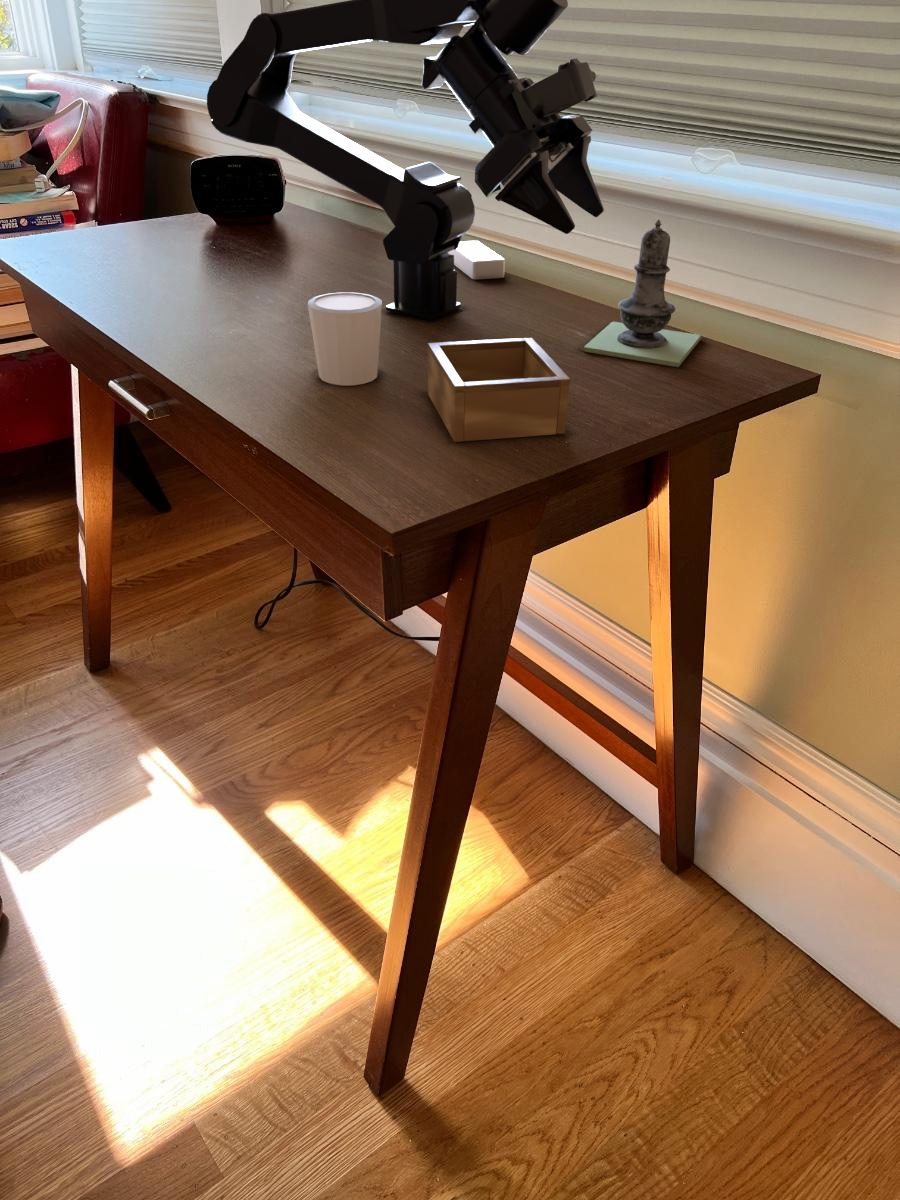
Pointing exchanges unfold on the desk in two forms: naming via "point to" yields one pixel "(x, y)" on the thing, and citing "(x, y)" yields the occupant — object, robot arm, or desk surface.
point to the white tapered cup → (346, 336)
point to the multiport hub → (478, 260)
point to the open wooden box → (497, 389)
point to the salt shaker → (648, 294)
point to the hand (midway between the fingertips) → (586, 222)
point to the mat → (665, 355)
